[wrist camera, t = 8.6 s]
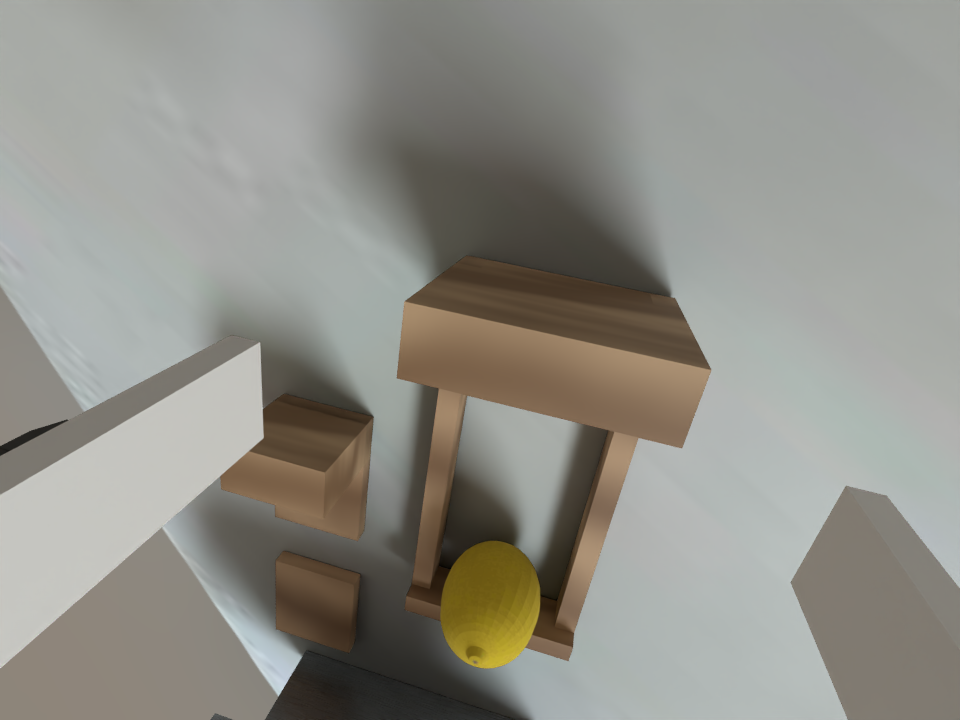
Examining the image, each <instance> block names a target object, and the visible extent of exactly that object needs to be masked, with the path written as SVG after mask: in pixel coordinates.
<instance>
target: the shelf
mask: <svg viewBox="0 0 960 720" xmlns="http://www.w3.org/2000/svg"><path fill="white" fill-rule="evenodd" d="M211 720H232V719H229V718H227V717H224V716H221V715H218V714H214V716H213V717H212V719H211ZM265 720H513V719H510V718H507V717H504V716H501V715H498V714H495V713H492V712H489V711H486V710H483V709H480V708H477V707H474V706H471V705H468V704H465V703H462V702H459V701H456V700H453V699H450V698H447V697H444V696H441V695H438V694H435V693H432V692H429V691H426V690H423V689H420V688H417V687H414V686H411V685H408V684H405V683H402V682H399V681H396V680H393V679H390V678H387V677H384V676H381V675H378V674H375V673H372V672H369V671H366V670H363V669H360V668H357V667H354V666H351V665H348V664H345V663H342V662H339V661H336V660H333V659H330V658H327V657H324V656H321V655H318V654H315V653H312V652H309V651H306V652H305V653H304V655H303V657H302V658H301V660H300V662H299V663H298V665H297V667H296V668H295V670H294V672H293V673H292V675H291V677H290V678H289V680H288V682H287V684H286V685H285V687H284V689H283V690H282V692H281V694H280V695H279V697H278V699H277V700H276V702H275V704H274V705H273V707H272V709H271V710H270V712H269V714H268V715H267V717H266V719H265Z"/></svg>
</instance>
